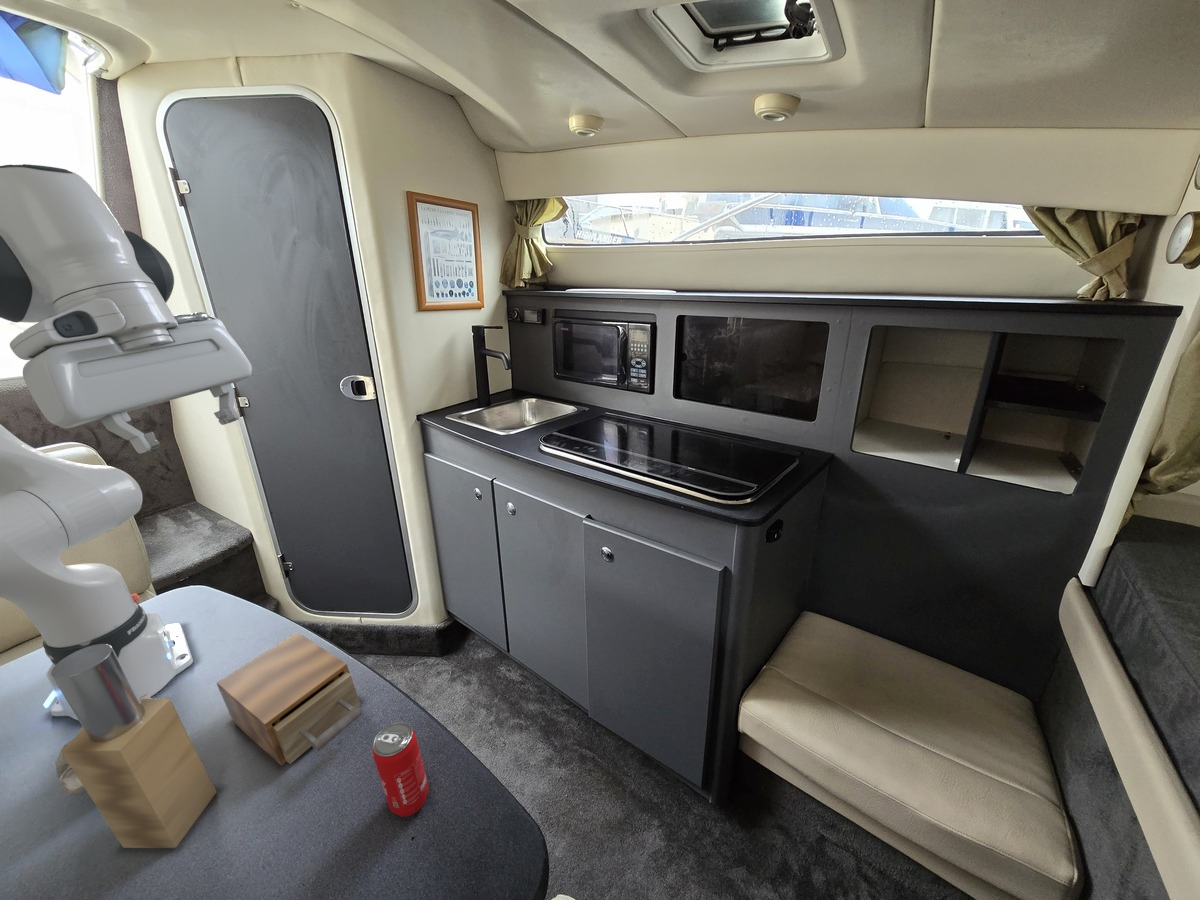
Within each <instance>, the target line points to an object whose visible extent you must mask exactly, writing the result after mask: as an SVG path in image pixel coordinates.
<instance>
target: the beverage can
mask: <svg viewBox="0 0 1200 900" xmlns="http://www.w3.org/2000/svg"><path fill="white" fill-rule="evenodd" d="M372 744H373V745H372V756H373V760H374V763H375V766H376V769H377V772H378V776H379V779H380V783H381V786H382V789H383V792H384V796H385V799H386V802H387V806H388V809H389V810H390V811H391V812H392V813H393V814H395V815H397V817H401V818H408V817H410V816H413V815H415V814H417V813H418V812H419V811H420V810H421V809H422V808H423V807H424V805H425V804H426V800H427V796H428V794H429V783H428V779H427V778H428V777H427V774H426V771H425V767H424V762H423V759H422V754H421V751H420V747H419V743H418V739H417V735H416V731H415V730H414V728H412V727H411V725H410V724H408V723H407V722H403V721H400V722H398V721H397V722H394V723H391V724H388V725H386V726H385V727H383V728H382V729H381V730H380V731H379V732H378V733H377V735H376V736H375V738H374V741H373V743H372Z"/></svg>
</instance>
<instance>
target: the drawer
mask: <svg viewBox="0 0 1200 900" xmlns="http://www.w3.org/2000/svg"><path fill="white" fill-rule="evenodd" d="M349 673H350V672H349ZM349 673H347V672H346V673H345V674H343V675H342V676H341V677H339V675H337V676H336V677H334V678H333V679H332V680H330V681H329V682H328V683H326V684H325V685H324V686H322V687H321V688H320V689H318V690H317V691H316V692H314V693H313V694H311V695H310V696H309V697H307V698H306V699H305V700H303V701H302V702H301V703H299V704H298V705H297V706H295V707H294V708H293V709H291V710H290V711H289V712H287V713H286V714H285V715H283V716H282V717H281V718H279V719H278V720H277V721H275V722H274V723H272V726H273V729H274V732H275V734H276V737H277V739H278V742H279V744H280V747H281V749H282V752H283V754H284V757H285V759H286V761H287V762H286V763H288V764H292V763H293V762H294V761H296V760H297V759H298V758H299V757H300V756H302V755H303V754H304V753H305V752H306V751H308V750H309V749H310V748H311V747H312V748H313V750H314V751H315V752H319V751H321V750H322V749H323V748H324V747H325V746H326V745H328V744H329V743H330V742H332V740H333V739H334V738H336V737H337V736H338V735H340V734H341V733H342V732H343V731H344V730H345V729H347V728H348V727H349V726H350V725H351V724H352V723H353V722H355V721H356V720H357V719H358V718H359V717H361V716H362V715H363V711H362V709H361V708H360V707H361V703H360V701H359V700H360V699H359V697H358V694H357V690H356V686H355V684H354V680H353V677H352V674H351V673H350V674H349Z"/></svg>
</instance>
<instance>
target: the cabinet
mask: <svg viewBox="0 0 1200 900" xmlns="http://www.w3.org/2000/svg"><path fill="white" fill-rule="evenodd" d="M346 672H347V673H349V674H350V675H351V673H350V671H349V667H348V664H347V663H346V662H344V661H343V660H342V659H340V658H338V657H337V656H335V655H334V654H332V653H331V652H329V651H328V650H326V649H324V648H323V647H321V646H320V645H319V644H316V643H315V642H313V641H312V640H310V639H309V638H307V637H305V636H304V635H302V634H301V633H299V632H298V631H296V632H295V633H293V634H292V635H290V636H288V637H287V638H285V639H283V640H282V641H281V642H279V643H277V644H276V645H274V646H273V647H271V648H269V649H268V650H266V651H265V652H263V653H261V654H260V655H258V656H257V657H255V658H254V659H252V660H250V661H249V662H247V663H245V664H244V665H242V666H241V667H239V668H237V669H236V670H235V671H233V672H231V673H229V674H228V675H226V676H225V677H223V678H221V679H220V680H219V681H217V682H216V686H217V687H218V690H219V693H220V695H221V697H222V700H223V702H224V704H225V706H226V708H227V711H228V713H229V715H230V717H231V719H232V721H233V724H234V725H236V726H237V727H238V728H239V729H240V730H241V731H243V732H244V733H245V734H246V735H247V736H248V737H249V738H250V739H251V740H252V741H254V742H255V743H256V744H257V745H258V746H259V747H260V748H261V749H262V750H263V751H264V752H266V753H267V754H268V755H269V756H270V757H271V758H272V759H273V760H274V761H275V762H277V763H278V765H279V766H283V765H285V764H286V763H288V762H287V761H286V759H285V757H284V754H283V752H282V749H281V747H280V744H279V742H278V739H277V737H276V734H275V732H274V729H273V726H272V723H274V722H275V721H277V720H278V719H279V718H281V717H282V716H283V715H285V714H286V713H287V712H289V711H290V710H291V709H293V708H294V707H295V706H297V705H298V704H299V703H301V702H302V701H303V700H305V699H306V698H307V697H309V696H310V695H311V694H313V693H314V692H316V691H317V690H318V689H320V688H321V687H322V686H324V685H325V684H326V683H328V682H329V681H330V680H332V679H333V678H334V677H336V676H337V675H339V677H341V676H342V675H343V674H345V673H346Z"/></svg>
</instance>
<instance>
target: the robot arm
mask: <svg viewBox="0 0 1200 900" xmlns="http://www.w3.org/2000/svg"><path fill="white" fill-rule="evenodd" d="M174 276H175V275H174V273H173V269H172V267H171V264H170V263H169V261H168V260H167V258H166V257H165V255H163V254H162V253H161V252H160V251H159V250H158V249H157V248H156V247H155V246H154V245H152V244H151V243H150V242H148V241H147V240H146V239H145V238H143V237H141V236H140V235H138V234H137V233H135V232H133V231H131V230H123V228H122V226H121V225H120V224H119V222H118V220H117V218H116V217H115V216H114V214H113V213H112V212H111V209H110V208H109V207H108V205H107V204H106V203H105V202H104V200H103V198H102V197H101V196H100V195H99V194H98V193H97V192H96V190H95V189H94V188H93V187H92V186H91V184H90V183H88V181H87V180H85V179H84V178H83V177H82V176H81V175H79V174H78V173H76V172H73V171H70V170H68V169H65V168H62V167H61V168H60V167H55V166H47V165H41V164H39V165H38V164H29V163H28V164H27V163H23V164H4V165H0V318H1V319H3V320H6V321H8V322H12V323H30V324H31V323H35V324H33V325H31V326H30V327H28V328H26V329H24V330H22V332H20V333H19V334H18V335H16V336H15V337H14V338H13V339H12V340H11V341H10V342H9V348H10V350H11V352H13V354H14V355H15V356H16V357H17V358H18V359H20V360H23V361H27V362H26V363H24V366H23V367H22V377H23V380H24V383H25V385H26V387H27V389H28V392H29V393H30V396H31V397H32V399H33V401H34V402H35V404H36V405H37V407H38V408H39V411H41V413H42V415H43V416H44V417H45V419H46V420H47V421H48V422H49V423H50V424H53V425H55V426H57V427H60V428H63V429H71V428H74V427H79V426H82V425H86V424H89V423H93V422H96V421H101V423H102V425H103V426H104V427H105V429H106V430H107V431H109V432H111V433H112V434H115V435H116V436H119V437H120V438H122V439H124V440H126V441H129V442H130V444H131V446H132V447H133V448H134V450H135V451H136V452H137V453H138V454H144V453H147V452H149V451H153V450H155V449H159V448H160V447H161V443H160V441H159V439H157V437H156V435H155V433H154V432H153V431H150V432H147V433H144V432H142V431H141V430H139V429H137V428H135V427H134V426H133V425H131V424H129V422H131V421H132V418H131V416H130V415H129V414H128V413H129V412H133V411H137V410H139V409H143V408H148V407H151V406H155V405H159V404H162V403H166V402H170V401H173V400H177V399H180V398H184V397H187V396H191V395H195V394H199V393H202V392H206V391H209V392H210V393H211V395H212V396H213V398H218V407H219V410H218V411H215V412H213V414H214V416H215V418H216V419H218V424H220V425H221V426H225V425H228V424H231V423H233V422H236V421H238V420H240V415H239V414H238V412H237V410H236V409H235V407H234V406H235V389H234V387H233V385H232V384H234V383H235V384H236V383H238V382H241V381H243V380H245V379H248V378H250V377H251V376H252V373H253V366H252V364H251V362H250V360H249V359H248V357H247V356H246V354H245V353H244V351H243V350H242V348H241V347H240V346H239V344H238V343H237V342H236V340H235V339H234V337H233V336H232V335H231V334H230V333H229V331H228V329H227V328H226V326H225V324H224V322H223V321H222V320H221V319H220V318H217V317H216V316H213V315H211V314H207V313H206V312H203V311H197V312H194V313H189V314H173V313H172V311H171V309H170V307H169V306H168V304H167V302H168V301H169V299H170V298H171V295H172V293H173V289H174V286H175V277H174ZM142 505H143V492H142V489H141V486H140V485H139V483H138V481H137V480H136V479H134V478H133V477H132V475H130V474H129V473H127V472H126V471H124V470H122V469H121V468H117V467H115V466H110V465H100V464H99V465H97V464H87V463H81V462H76V461H71V460H68V459H64V458H61V457H57V456H54V455H51V454H49V453H46V452H43V451H41V450H39V449H36V448H35V447H33V446H31V445H29V444H27V443H26V442H24V441H22V440H21V439H20V438H18V437H17V436H15V435H14V434H13V433H12V432H10V430H8V429H7V428H5V426H4V425H2V424H1V423H0V598H2V599H4V600H7V601H9V602H11V603H12V604H13V605H15V606H17V607H18V608H19V609H20V610H22V612H23V613H24V614H25V615H26V616H27V617H28V619H29V620H30V621H31V623H32V624H33V625H34V627H35V629H36V630H37V631H38V633H39V634H40V636H41V637H42V639H43V640H42V647H43V649H44V653H45V655H46V657H47V658H48V659H49V660H50V661H51V663H52V664H51V665H50V666H49V668H48V670H47V671H46V673H45V675H46V678H47V680H48V683H49V685H50V687H51V689H52V692H51V693H50V694H49V696H48V697H47V699H46V700H45V702H44V703H43V707H44V708H45V709H47V708H49V707H50V705H51V704H52V702H53V700H54V699H55V698H56V701H54V703H53V705H52V706H51V707H50V710H49V711H50V714H51V716H52V717H69V718H72V719H73V720H76V721H79V720H78V718H77V717H76V715H75V714H74V712H73V710H72V709H71V707H70V705H69V704H68V702H67V700H66V699H65V697H64V695H63V694H62V692H61V690H60V689H59V687H58V686H57V684H56V682H55V681H54V679H53V677H52V676H51V671H52V669H53V668H54V666H55V665H56V664H57V663H59V662H60V661H61V660H62V659H64V658H65V657H67V656H69V655H70V654H72V653H74V652H76V651H78V650H81V649H83V648H86V647H89V646H93V645H97V644H108V645H110V646H112V648H113V650H114V652H115V654H116V656H117V658H118V660H119V662H120V663H121V665H122V667H123V669H124V671H125V673H126V675H127V677H128V678H129V680H130V682H131V684H132V686H133V688H134V690H135V692H136V694H137V695H138V697H139V698H140V697H142V696H144V695H146V694H147V695H148V696H150V697H151V698H152V697H153V696H154V695H156V694H157V693H158V692H160V691H161V690H162V689H163V688H165V686H166V685H167V684H169V683H170V682H171V681H172V679H173V678H175V677H176V676H177V675H178V674H180V673H181V672H183V671H184V670H186V669H187V668H189V667H190V666H191V665H193V662H194V659H193V655H192V653H191V649H190V647H189V643H188V641H187V638H186V634H185V632H184V629H183V627H182V625H181V623H168V624H165V623H164V621H163V620H162V617H161V616H160V614H158V613H155V612H146V611H145V609H144V608H143V607H142V606H140V596H139V594H138V593H137V592H134V593H131V592H130V590H129V588H128V586H127V584H126V581H125V579H124V578H123V576H122V574H121V572H120V571H119V570H118V569H116V568H114V567H112V566H110V565H108V564H105V563H97V562H96V563H94V562H90V563H87V562H86V563H76V564H70V565H69V564H68V565H64V563H63V562H62V559H61V555H62V554H64V553H66V552H67V551H69V550H71V549H73V548H75V547H77V546H79V545H82V544H85V543H86V542H89V541H91V540H94V539H95V538H98V537H100V536H103V535H104V534H107V533H109V532H111V531H113V530H115V529H116V528H118V527H119V526H120V525H122V524H124V523H125V522H126V521H128V520H130V519H131V518H132V517H134V516H135V515H137V514H138V513H139V512H140V510H141V509H142Z"/></svg>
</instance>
